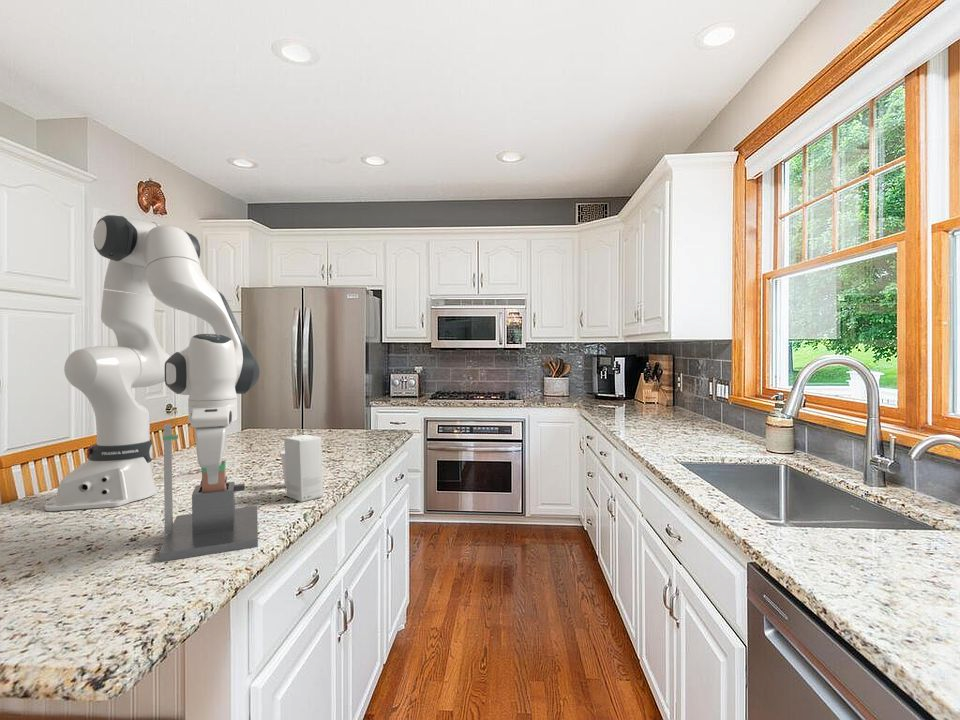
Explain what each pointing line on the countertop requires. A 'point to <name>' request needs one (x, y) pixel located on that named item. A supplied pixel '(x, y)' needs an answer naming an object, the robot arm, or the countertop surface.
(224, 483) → the column
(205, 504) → the stand
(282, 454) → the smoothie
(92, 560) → the countertop surface
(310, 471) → the skincare box
